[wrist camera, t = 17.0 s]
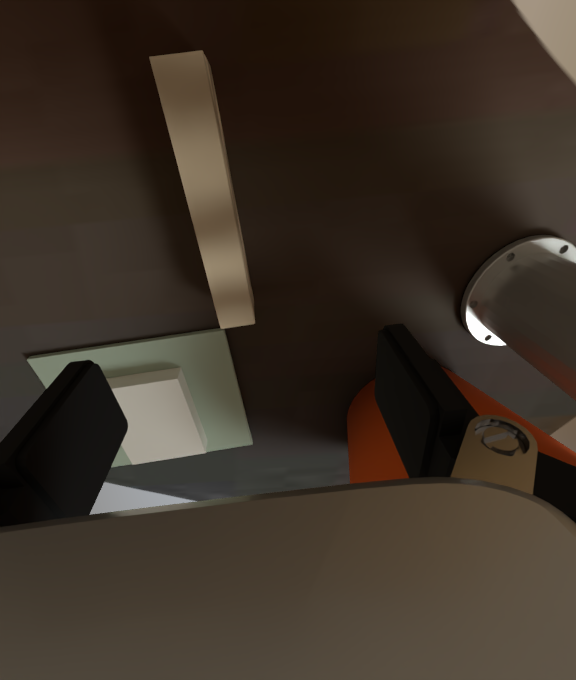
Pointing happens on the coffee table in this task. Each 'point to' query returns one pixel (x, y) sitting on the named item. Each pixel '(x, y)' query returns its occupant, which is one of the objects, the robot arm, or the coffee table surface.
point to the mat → (165, 353)
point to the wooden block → (206, 179)
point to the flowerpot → (380, 451)
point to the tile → (158, 416)
